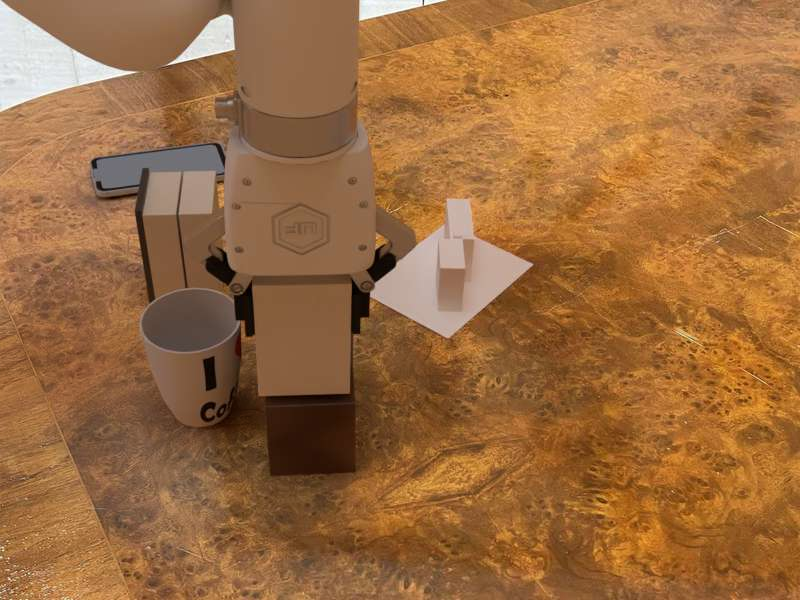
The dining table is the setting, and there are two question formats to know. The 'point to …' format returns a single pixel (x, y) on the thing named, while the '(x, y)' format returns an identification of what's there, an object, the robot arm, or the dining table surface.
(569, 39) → the dining table surface
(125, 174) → the smartphone
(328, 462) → the dark brown box
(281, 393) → the tan rectangular block
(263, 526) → the dining table surface
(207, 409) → the cup
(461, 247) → the napkin holder
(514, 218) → the dining table surface
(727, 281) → the dining table surface
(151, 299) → the slotted desk organizer
